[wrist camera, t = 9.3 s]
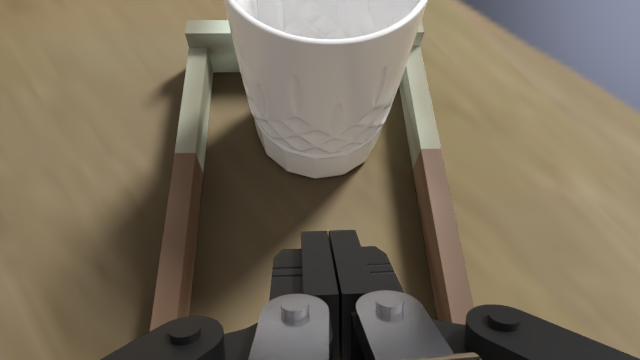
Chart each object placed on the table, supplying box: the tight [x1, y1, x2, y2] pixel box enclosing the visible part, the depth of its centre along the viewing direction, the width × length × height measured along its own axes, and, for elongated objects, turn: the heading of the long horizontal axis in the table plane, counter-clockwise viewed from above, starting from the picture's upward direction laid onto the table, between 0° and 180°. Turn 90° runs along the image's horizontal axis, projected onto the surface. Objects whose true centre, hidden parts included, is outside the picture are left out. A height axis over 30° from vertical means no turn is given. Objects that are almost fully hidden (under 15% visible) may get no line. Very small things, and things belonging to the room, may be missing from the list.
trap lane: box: [150, 20, 474, 331], centre depth 21 cm, size 13×24×3 cm, turn 2°
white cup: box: [223, 0, 428, 178], centre depth 21 cm, size 8×8×10 cm
